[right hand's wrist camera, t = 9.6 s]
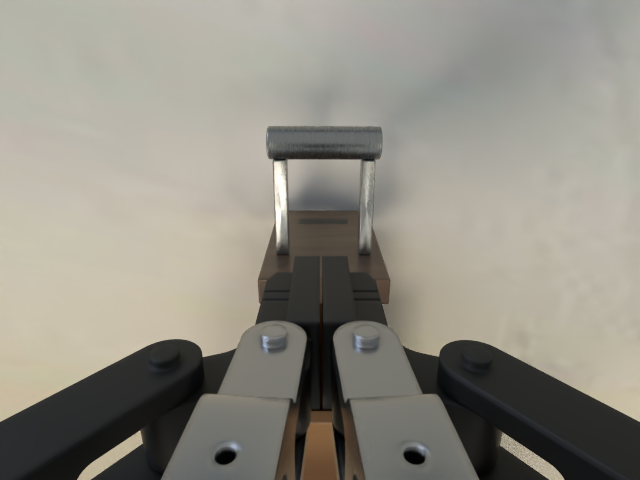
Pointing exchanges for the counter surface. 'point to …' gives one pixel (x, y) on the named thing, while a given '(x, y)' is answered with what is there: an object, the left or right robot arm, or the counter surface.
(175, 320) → the counter surface
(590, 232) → the counter surface
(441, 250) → the counter surface
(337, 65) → the counter surface
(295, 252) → the drawer
